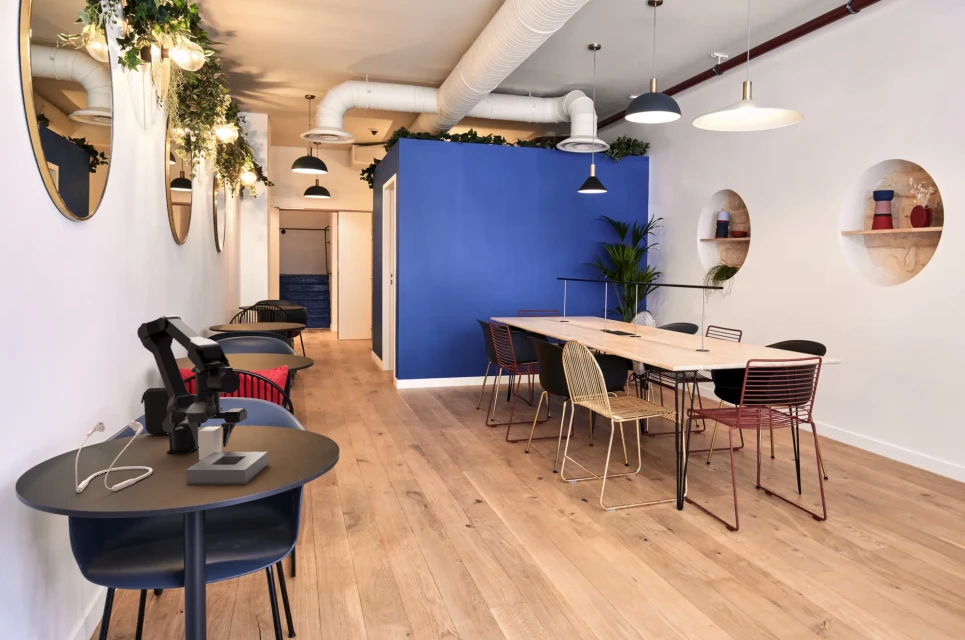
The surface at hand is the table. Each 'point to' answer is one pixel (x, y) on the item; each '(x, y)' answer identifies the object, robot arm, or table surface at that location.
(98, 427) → the earphone
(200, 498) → the table surface
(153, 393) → the carrying case or bag
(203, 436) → the plug
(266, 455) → the socket block
